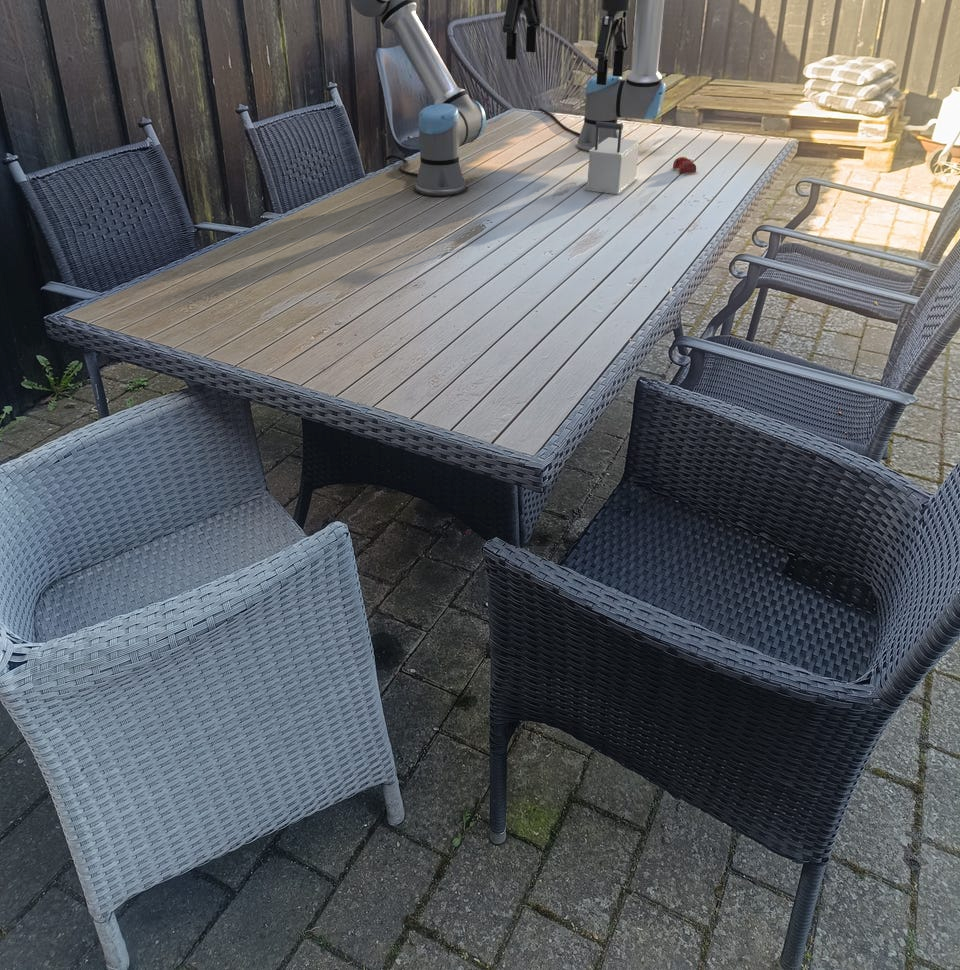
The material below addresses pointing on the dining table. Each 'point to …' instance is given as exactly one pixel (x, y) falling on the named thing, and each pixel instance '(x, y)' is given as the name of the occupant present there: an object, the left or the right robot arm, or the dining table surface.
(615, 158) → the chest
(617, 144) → the lid
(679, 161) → the dark red rounded lump
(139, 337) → the dining table surface
